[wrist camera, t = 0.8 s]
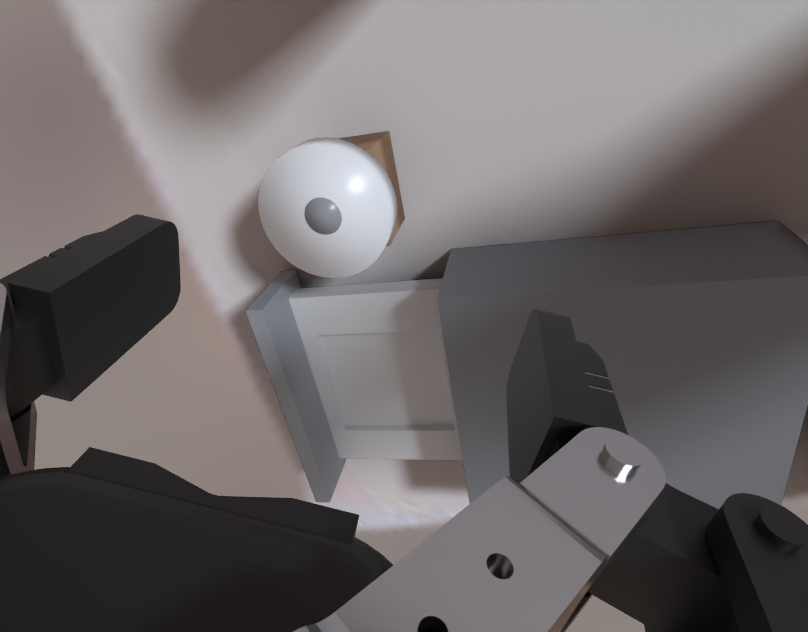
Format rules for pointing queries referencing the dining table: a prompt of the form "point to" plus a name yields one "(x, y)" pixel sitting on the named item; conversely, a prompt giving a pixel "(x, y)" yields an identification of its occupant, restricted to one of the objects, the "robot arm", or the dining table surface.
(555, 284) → the block
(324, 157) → the disc
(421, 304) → the tray
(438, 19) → the dining table surface
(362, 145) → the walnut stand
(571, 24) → the dining table surface
